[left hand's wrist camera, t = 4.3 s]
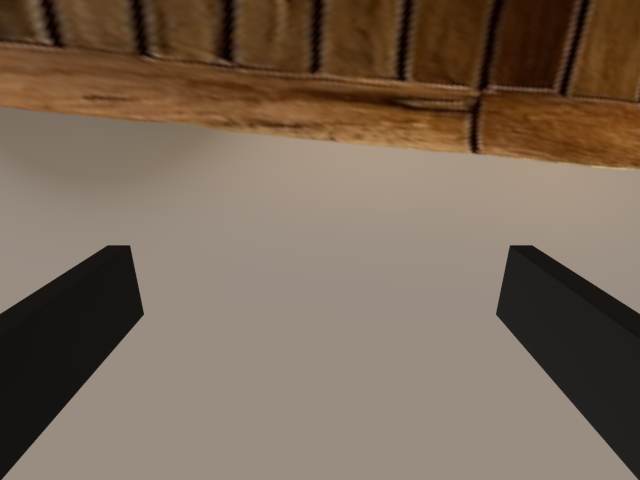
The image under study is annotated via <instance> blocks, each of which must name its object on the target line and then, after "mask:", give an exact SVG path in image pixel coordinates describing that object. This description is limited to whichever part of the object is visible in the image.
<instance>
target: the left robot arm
mask: <svg viewBox="0 0 640 480" xmlns="http://www.w3.org/2000/svg"><path fill="white" fill-rule="evenodd" d="M143 315H144V312H143V307H142V302H141V297H140V292H139V287H138V283H137V278H136V273H135V268H134V263H133V258H132V253H131V248H130V246H129V245H108V246H106V247H105V248H103V249H101V250H100V251H98V252H97V253H95V254H94V255H92V256H90V257H89V258H87V259H86V260H84V261H83V262H81V263H80V264H78V265H76V266H75V267H73V268H72V269H70V270H69V271H67V272H65V273H64V274H62V275H61V276H59V277H58V278H56V279H54V280H53V281H51V282H50V283H48V284H47V285H45V286H43V287H42V288H40V289H39V290H37V291H36V292H34V293H33V294H31V295H29V296H28V297H26V298H25V299H23V300H21V301H20V302H18V303H17V304H15V305H14V306H12V307H11V308H9V309H7V310H6V311H4V312H3V313H1V314H0V480H2V479H3V477H4V476H5V475H6V474H7V473H8V472H9V470H10V469H11V468H12V467H13V466H14V465H15V463H16V462H17V461H18V460H19V459H20V458H21V456H22V455H23V454H24V453H25V452H26V451H27V449H28V448H29V447H30V446H31V445H32V444H33V443H34V441H35V440H36V439H37V438H38V437H39V436H40V434H41V433H42V432H43V431H44V430H45V429H46V427H47V426H48V425H49V424H50V423H51V422H52V421H53V419H54V418H55V417H56V416H57V415H58V414H59V412H60V411H61V410H62V409H63V408H64V407H65V405H66V404H67V403H68V402H69V401H70V400H71V398H72V397H73V396H74V395H75V394H76V393H77V392H78V390H79V389H80V388H81V387H82V386H83V384H84V383H85V382H86V381H87V380H88V379H89V378H90V376H91V375H92V374H93V373H94V372H95V371H96V369H97V368H98V367H99V366H100V365H101V364H102V362H103V361H104V360H105V359H106V358H107V357H108V356H109V354H110V353H111V352H112V351H113V350H114V349H115V347H116V346H117V345H118V344H119V343H120V342H121V340H122V339H123V338H124V337H125V336H126V335H127V333H128V332H129V331H130V330H131V329H132V328H133V327H134V325H135V324H136V323H137V322H138V321H139V320H140V318H141V317H142V316H143ZM496 315H497V316H498V317H499V318H500V320H501V321H502V322H503V323H504V324H505V325H506V327H507V328H508V329H509V330H510V331H511V332H512V333H513V335H514V336H515V337H516V338H517V339H518V340H519V342H520V343H521V344H522V345H523V346H524V347H525V349H526V350H527V351H528V352H529V353H530V354H531V355H532V357H533V358H534V359H535V360H536V361H537V362H538V364H539V365H540V366H541V367H542V368H543V369H544V371H545V372H546V373H547V374H548V375H549V376H550V378H551V379H552V380H553V381H554V382H555V383H556V384H557V386H558V387H559V388H560V389H561V390H562V391H563V393H564V394H565V395H566V396H567V397H568V398H569V400H570V401H571V402H572V403H573V404H574V405H575V407H576V408H577V409H578V410H579V411H580V412H581V414H582V415H583V416H584V417H585V418H586V419H587V420H588V422H589V423H590V424H591V425H592V426H593V427H594V429H595V430H596V431H597V432H598V433H599V434H600V436H601V437H602V438H603V439H604V440H605V441H606V443H607V444H608V445H609V446H610V447H611V448H612V450H613V451H614V452H615V453H616V454H617V455H618V456H619V458H620V459H621V460H622V461H623V462H624V463H625V465H626V466H627V467H628V468H629V469H630V470H631V472H632V473H633V474H634V475H635V476H636V477H637V479H638V480H640V314H639V313H637V312H636V311H634V310H633V309H631V308H629V307H628V306H626V305H625V304H623V303H622V302H620V301H619V300H617V299H615V298H614V297H612V296H611V295H609V294H607V293H606V292H604V291H603V290H601V289H600V288H598V287H597V286H595V285H593V284H592V283H590V282H589V281H587V280H586V279H584V278H582V277H581V276H579V275H578V274H576V273H575V272H573V271H571V270H570V269H568V268H567V267H565V266H564V265H562V264H560V263H559V262H557V261H556V260H554V259H553V258H551V257H549V256H548V255H546V254H545V253H543V252H542V251H540V250H539V249H537V248H535V247H534V246H532V245H511V246H510V248H509V253H508V258H507V263H506V268H505V273H504V278H503V283H502V287H501V292H500V297H499V302H498V307H497V312H496Z"/></svg>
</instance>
